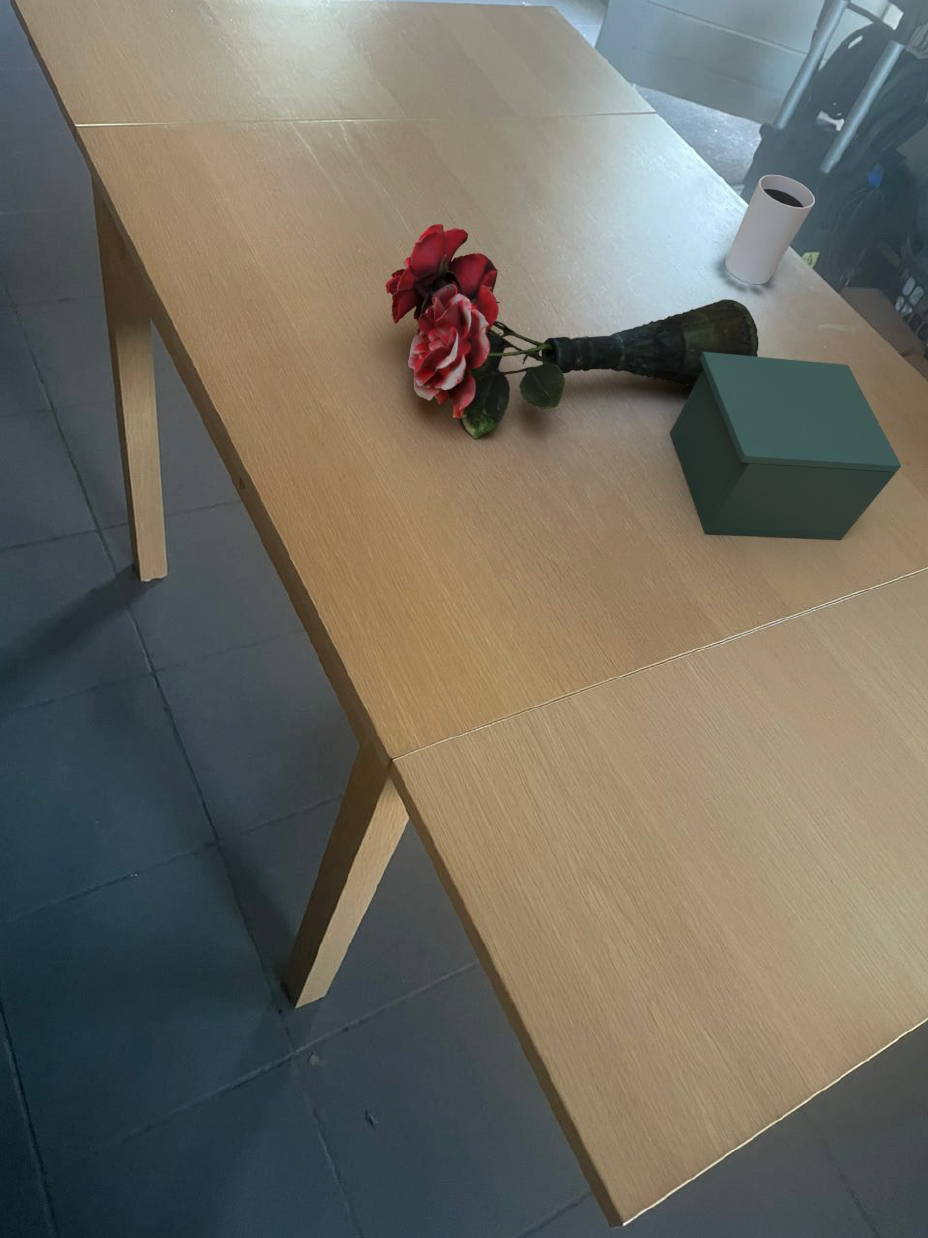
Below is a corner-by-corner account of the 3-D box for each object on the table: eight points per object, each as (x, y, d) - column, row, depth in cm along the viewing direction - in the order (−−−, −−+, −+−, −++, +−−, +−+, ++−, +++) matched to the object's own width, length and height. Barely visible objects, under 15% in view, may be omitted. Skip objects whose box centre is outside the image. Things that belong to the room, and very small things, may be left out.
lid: (740, 462, 75) (745, 455, 75) (699, 358, 83) (702, 351, 82) (896, 472, 79) (902, 465, 78) (843, 371, 86) (848, 364, 85)
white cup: (778, 290, 109) (821, 213, 101) (726, 281, 108) (765, 201, 100) (767, 258, 113) (807, 180, 105) (717, 248, 112) (753, 169, 104)
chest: (704, 534, 83) (749, 463, 76) (669, 432, 90) (707, 359, 83) (841, 540, 86) (896, 472, 79) (796, 441, 93) (843, 371, 86)
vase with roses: (671, 426, 103) (377, 452, 88) (658, 254, 100) (353, 252, 86) (773, 408, 89) (443, 435, 74) (761, 208, 86) (417, 196, 72)
